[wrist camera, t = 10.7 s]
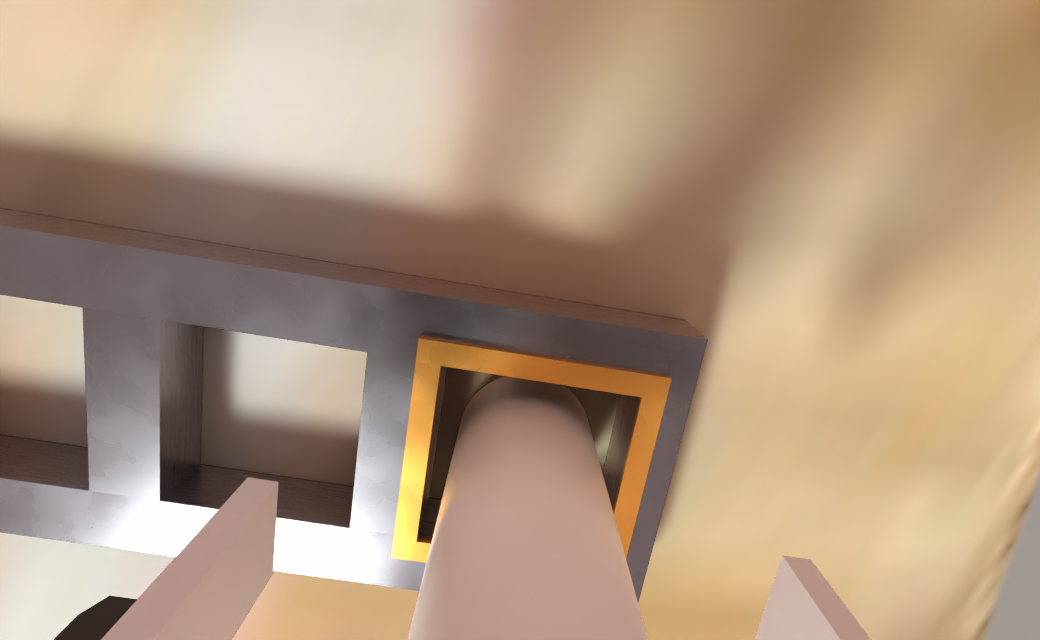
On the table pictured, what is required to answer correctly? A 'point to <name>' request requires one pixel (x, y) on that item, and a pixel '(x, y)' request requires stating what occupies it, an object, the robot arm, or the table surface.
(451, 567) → the pin
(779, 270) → the table surface
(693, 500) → the table surface
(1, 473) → the rail
